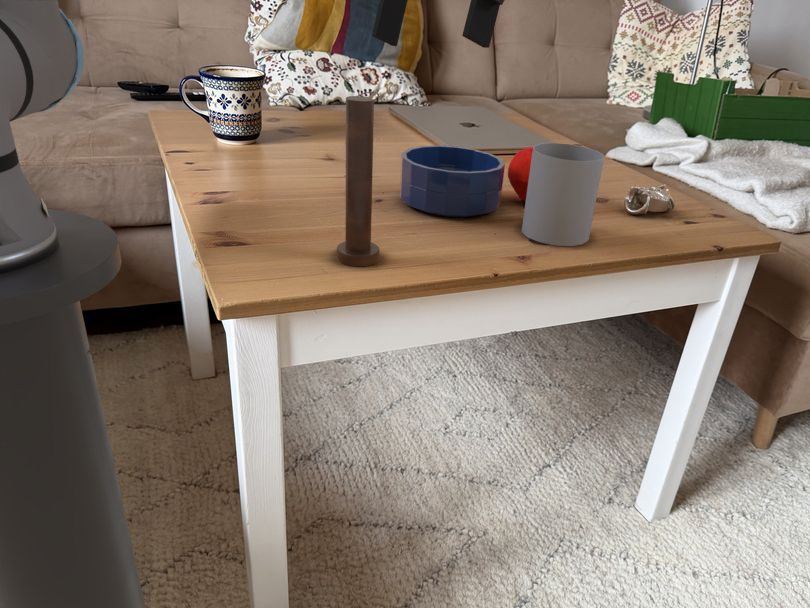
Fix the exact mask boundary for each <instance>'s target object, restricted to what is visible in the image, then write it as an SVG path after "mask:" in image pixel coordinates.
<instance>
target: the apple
mask: <svg viewBox="0 0 810 608" xmlns="http://www.w3.org/2000/svg"><path fill="white" fill-rule="evenodd" d="M532 153H533V146H530V147H526V148H523V149H520V150H519V151H518V152H516V153H515V154H514V156H513V157H512V158H511V160H510V162H509V165H508V168H507V179H508V181H509V183H510V185H511V187H512V189H513V191H514V192H515V194H516V195H517V196H518V197H519V199H520V200H522V201H523V202H525V203H526V196H527V188H528V181H529V174H530V167H531V160H532Z"/></svg>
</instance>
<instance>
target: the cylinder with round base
mask: <svg viewBox="0 0 810 608" xmlns="http://www.w3.org/2000/svg"><path fill="white" fill-rule="evenodd" d="M374 116H375V99H374V98H372V97H369V96H362V95H349V96H345V240H344V241H341V242H340V243H338V244H337V245H336V259H337V261H338V262H339V263H341V264H343V265H345V266H350V267H369V266H373V265H375V264H377V263H378V262H379V261H380V247H379V245H377V244H376V243H374V242H372V212H373V211H372V209H373V208H372V207H373V205H372V204H373V168H374V166H373V163H374V121H375V119H374V118H375V117H374Z"/></svg>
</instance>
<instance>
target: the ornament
mask: <svg viewBox="0 0 810 608" xmlns="http://www.w3.org/2000/svg"><path fill="white" fill-rule="evenodd" d="M666 187H667V185H666V183H665V184H661V185H657V186H651V187H645V186H642V187H641V186H637V185H632V186H631V187H630V188H629V191H628V193H627V194H626V197H625V198H624V203H623V204H624V208H625V210H626V212H627V213H629V214H631V215H637V216H639V215H643V214H647V212H652V213H662V212H668V211H672V210H674V209H675V206H676V204H675V201H674V199H673V197H672V196H671V194H670V189H665V188H666ZM638 205H639V206H642V207H640V208H639V207H638Z"/></svg>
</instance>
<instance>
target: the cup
mask: <svg viewBox="0 0 810 608" xmlns="http://www.w3.org/2000/svg"><path fill="white" fill-rule="evenodd" d="M532 147H533V153H532V160H531V167H530V174H529V181H528V188H527V196H526V202H525V203H524V204H525V205H524V210H523V218H522V225H521V233H522V234H523V235H524V236H525V237H527V238H528V239H530V240H532V241H534V242H538V243H540V244H546V245H550V246H555V247H556V246H557V247H576V246H581V245H584V244H585V243H587V242H589V240H590V234H591V230H592V225H593V220H594V215H595V209H596V204H597V199H598V195H599V194H598V193H599V188H600V183H601V178H602V172H603V167H604V162H605V155H604V154H603V153H602V152H600V151H599V150H596V149H593V148H589V147H586V146H582V145H577V144H570V143H559V142H544V143H543V142H542V143H538V144H535V145H533V146H532Z"/></svg>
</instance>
